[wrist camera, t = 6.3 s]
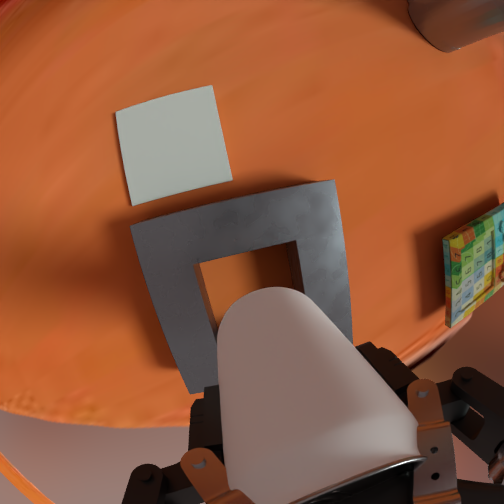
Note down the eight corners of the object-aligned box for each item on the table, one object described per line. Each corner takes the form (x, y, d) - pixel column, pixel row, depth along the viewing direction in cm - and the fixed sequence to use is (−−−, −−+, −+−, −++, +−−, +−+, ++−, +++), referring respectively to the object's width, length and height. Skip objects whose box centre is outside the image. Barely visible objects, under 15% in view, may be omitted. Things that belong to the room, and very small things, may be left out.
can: (257, 262, 15) (367, 437, 3) (340, 315, 16) (467, 447, 5) (196, 349, 16) (190, 542, 4) (280, 388, 17) (337, 541, 5)
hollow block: (142, 220, 23) (129, 225, 19) (316, 181, 24) (334, 179, 20) (191, 370, 27) (189, 394, 23) (337, 332, 28) (353, 351, 24)
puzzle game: (522, 270, 27) (454, 330, 26) (503, 263, 31) (432, 317, 30) (522, 199, 24) (454, 242, 23) (500, 196, 29) (427, 234, 27)
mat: (117, 113, 20) (115, 112, 20) (212, 87, 21) (212, 85, 21) (133, 205, 23) (132, 205, 22) (232, 180, 23) (232, 180, 23)
